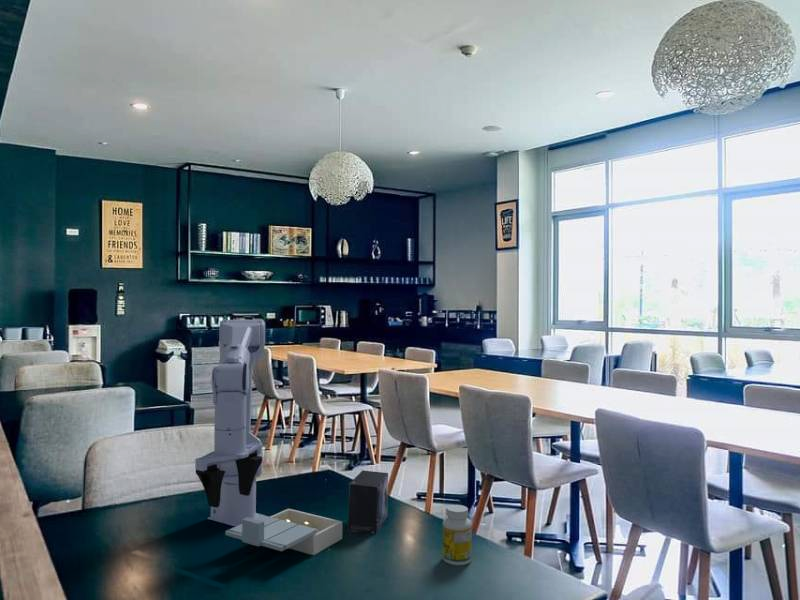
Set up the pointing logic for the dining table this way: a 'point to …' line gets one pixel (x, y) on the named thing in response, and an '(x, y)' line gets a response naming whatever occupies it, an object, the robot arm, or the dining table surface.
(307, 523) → the brass ball
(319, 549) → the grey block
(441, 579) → the dining table surface
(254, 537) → the lid
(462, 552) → the supplement bottle
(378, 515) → the small box
